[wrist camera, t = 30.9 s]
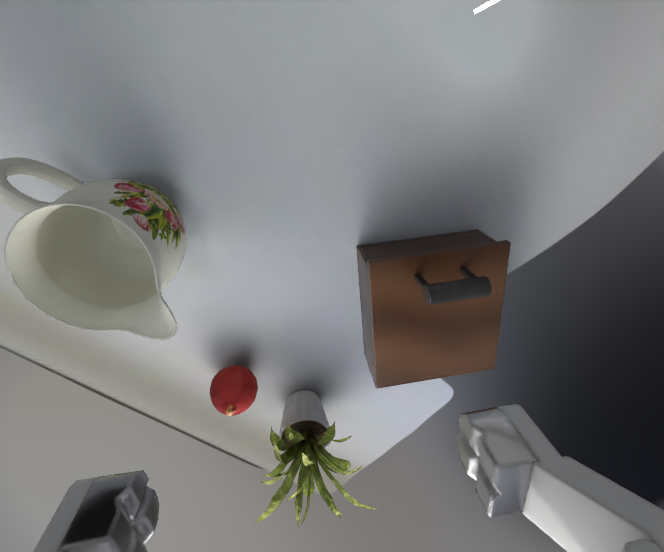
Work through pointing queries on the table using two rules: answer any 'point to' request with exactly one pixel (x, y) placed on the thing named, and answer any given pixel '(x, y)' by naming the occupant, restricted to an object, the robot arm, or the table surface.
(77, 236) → the pitcher
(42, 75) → the table surface
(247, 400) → the onion
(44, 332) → the table surface
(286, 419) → the house plant
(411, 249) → the chest
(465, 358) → the lid
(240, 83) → the table surface
